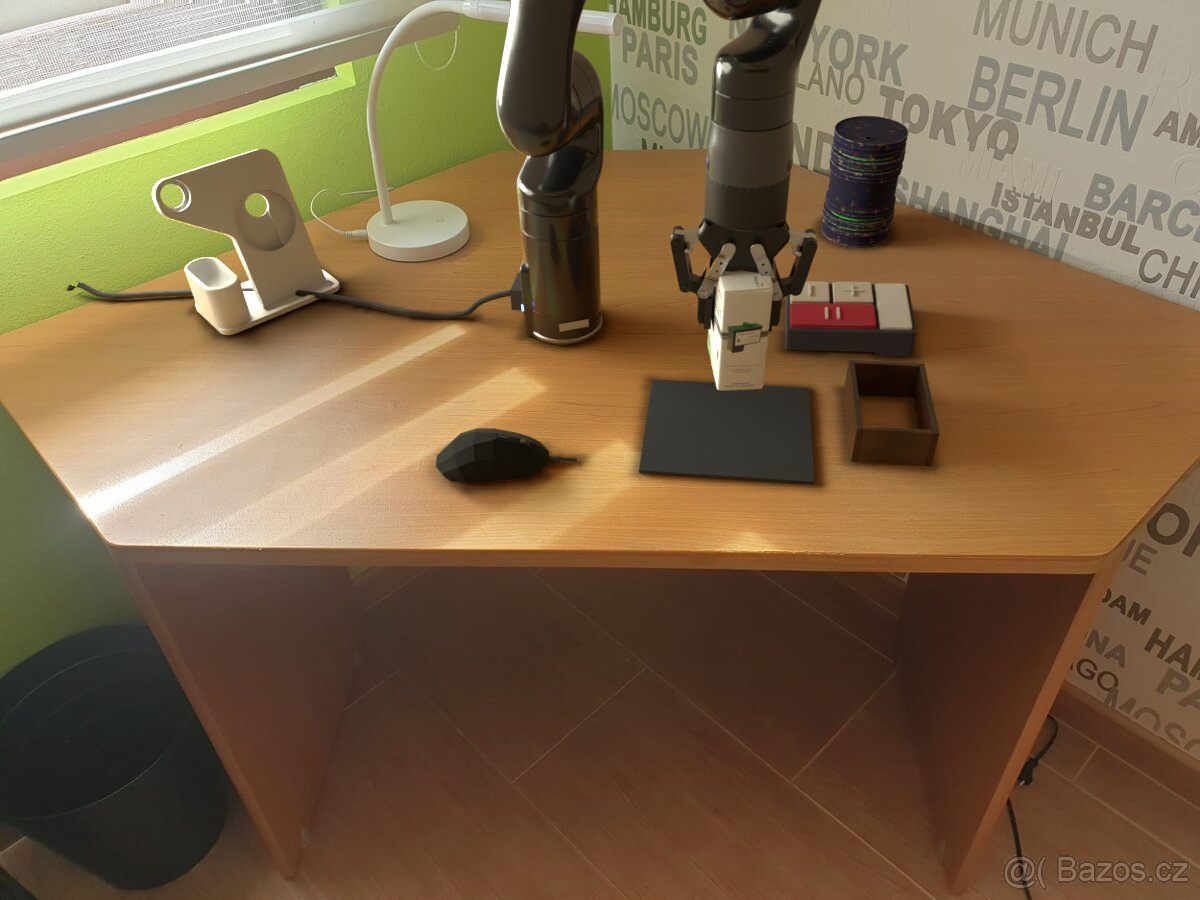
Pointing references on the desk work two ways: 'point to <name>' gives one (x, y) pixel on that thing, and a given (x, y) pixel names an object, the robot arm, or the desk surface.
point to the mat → (728, 432)
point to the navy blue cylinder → (863, 180)
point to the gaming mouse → (493, 457)
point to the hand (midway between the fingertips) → (737, 325)
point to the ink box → (740, 329)
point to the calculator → (851, 318)
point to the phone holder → (247, 241)
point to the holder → (890, 441)
